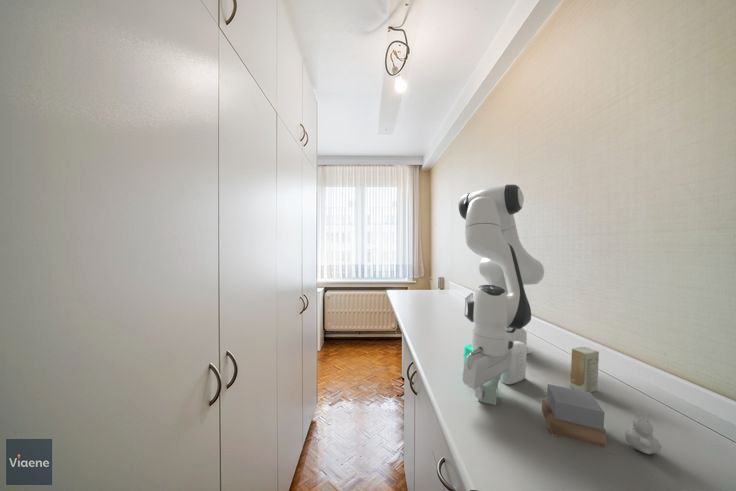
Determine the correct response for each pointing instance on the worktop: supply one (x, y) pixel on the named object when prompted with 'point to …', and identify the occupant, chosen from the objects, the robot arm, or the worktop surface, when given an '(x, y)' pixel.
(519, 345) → the photo printer
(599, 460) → the worktop surface
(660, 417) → the worktop surface
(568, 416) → the gray block
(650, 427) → the white figurine
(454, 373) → the worktop surface
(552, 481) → the worktop surface
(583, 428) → the walnut block
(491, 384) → the sage cube
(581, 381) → the skincare box
